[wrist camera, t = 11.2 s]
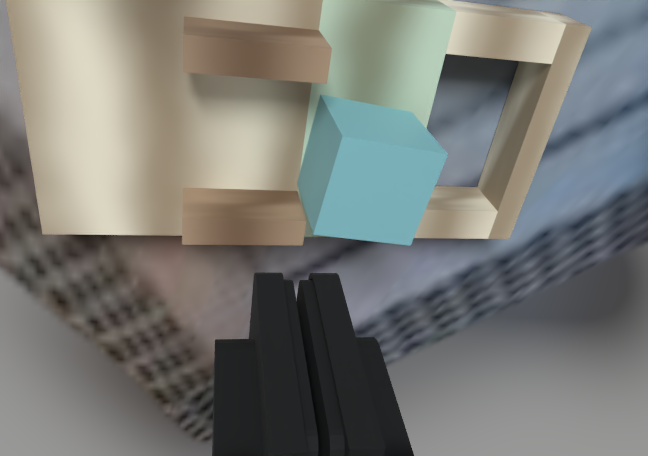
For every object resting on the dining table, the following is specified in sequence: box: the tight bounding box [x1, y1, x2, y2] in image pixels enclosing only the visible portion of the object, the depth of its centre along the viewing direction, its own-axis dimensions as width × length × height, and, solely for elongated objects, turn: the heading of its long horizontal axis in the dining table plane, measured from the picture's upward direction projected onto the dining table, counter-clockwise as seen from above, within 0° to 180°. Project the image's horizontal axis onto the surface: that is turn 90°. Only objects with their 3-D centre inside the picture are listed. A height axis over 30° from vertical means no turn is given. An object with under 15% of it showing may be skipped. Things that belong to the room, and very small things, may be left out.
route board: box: [6, 0, 592, 245], centre depth 28 cm, size 27×13×6 cm, turn 82°
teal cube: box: [297, 94, 448, 246], centre depth 27 cm, size 5×5×5 cm
